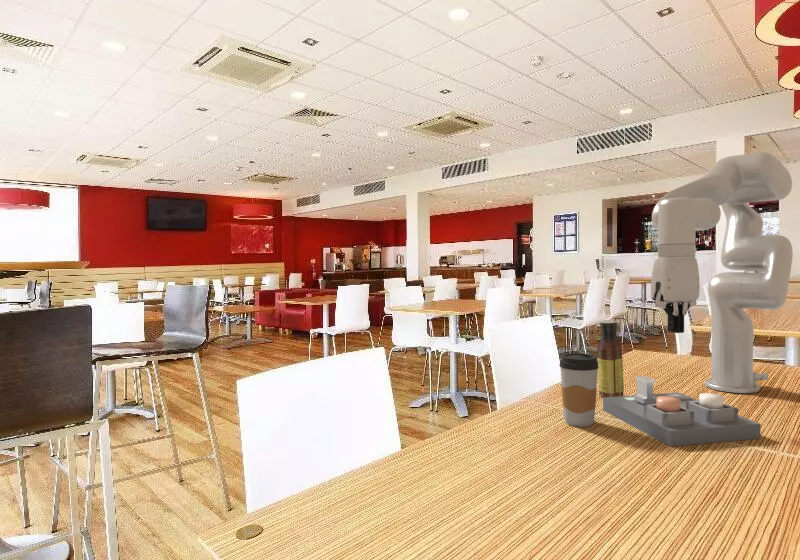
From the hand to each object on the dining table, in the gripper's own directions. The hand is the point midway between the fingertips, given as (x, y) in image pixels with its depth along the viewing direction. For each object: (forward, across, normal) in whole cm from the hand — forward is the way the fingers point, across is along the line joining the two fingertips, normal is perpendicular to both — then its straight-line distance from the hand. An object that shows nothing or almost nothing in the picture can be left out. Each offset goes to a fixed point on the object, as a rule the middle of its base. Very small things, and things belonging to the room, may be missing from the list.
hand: (675, 332), depth 118 cm
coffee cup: (+20, +24, -3) cm, 31 cm away
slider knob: (+16, +7, -2) cm, 18 cm away
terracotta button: (+15, +11, +10) cm, 21 cm away
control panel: (+19, +4, +4) cm, 20 cm away
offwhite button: (+14, +1, +11) cm, 18 cm away
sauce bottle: (+20, +4, -18) cm, 27 cm away
